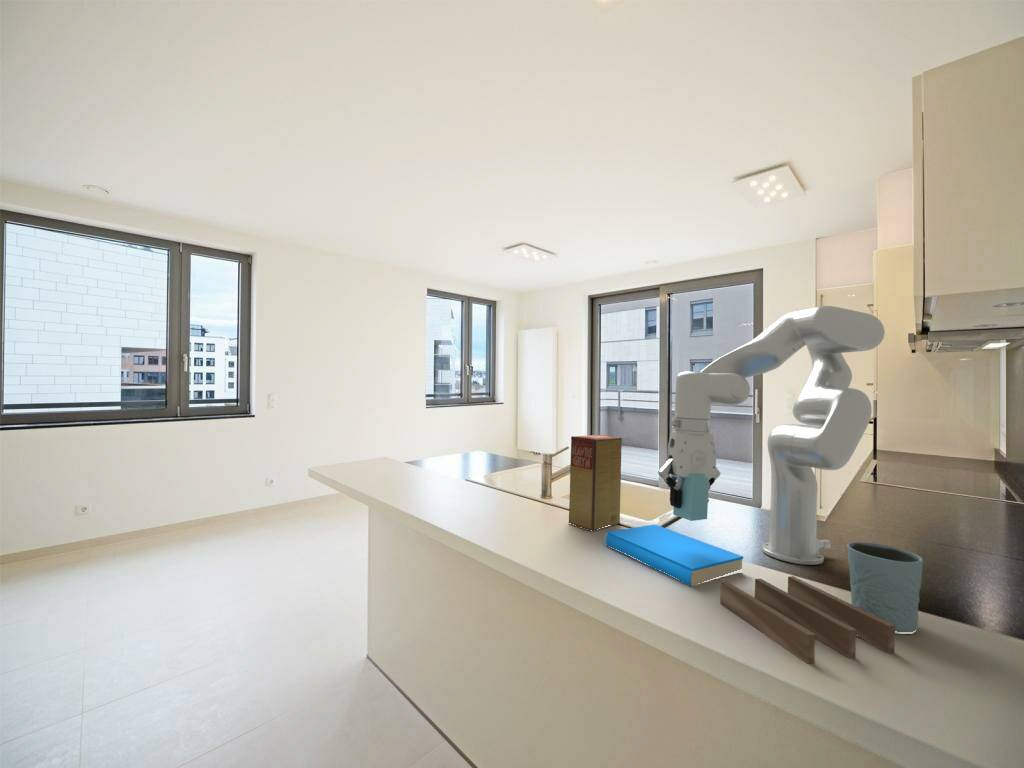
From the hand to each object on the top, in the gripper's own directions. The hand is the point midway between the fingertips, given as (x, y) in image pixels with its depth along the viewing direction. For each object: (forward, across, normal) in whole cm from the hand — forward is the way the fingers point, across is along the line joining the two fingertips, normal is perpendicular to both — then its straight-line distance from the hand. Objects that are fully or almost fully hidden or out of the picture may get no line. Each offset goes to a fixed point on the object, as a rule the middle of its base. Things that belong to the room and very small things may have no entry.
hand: (688, 505), depth 100 cm
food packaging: (+13, -9, +30) cm, 34 cm away
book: (+14, -2, +3) cm, 14 cm away
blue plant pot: (+13, +18, -28) cm, 36 cm away
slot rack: (+13, +2, -28) cm, 30 cm away
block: (+2, 0, -1) cm, 2 cm away
